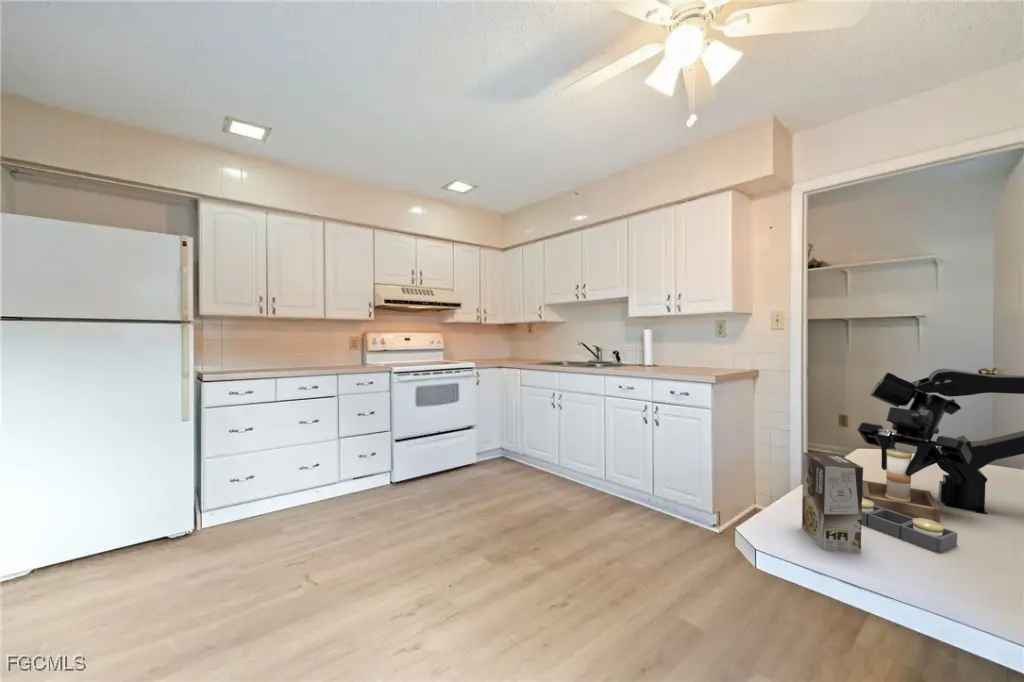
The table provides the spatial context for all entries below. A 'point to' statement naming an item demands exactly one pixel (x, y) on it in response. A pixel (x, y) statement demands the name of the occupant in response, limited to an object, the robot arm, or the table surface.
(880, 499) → the walnut tray
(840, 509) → the coffee box
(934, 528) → the fuse
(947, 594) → the table surface
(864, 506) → the cream domed cylinder
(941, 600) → the table surface
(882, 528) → the grey compartment tray
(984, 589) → the table surface
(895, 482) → the cream capped cylinder
